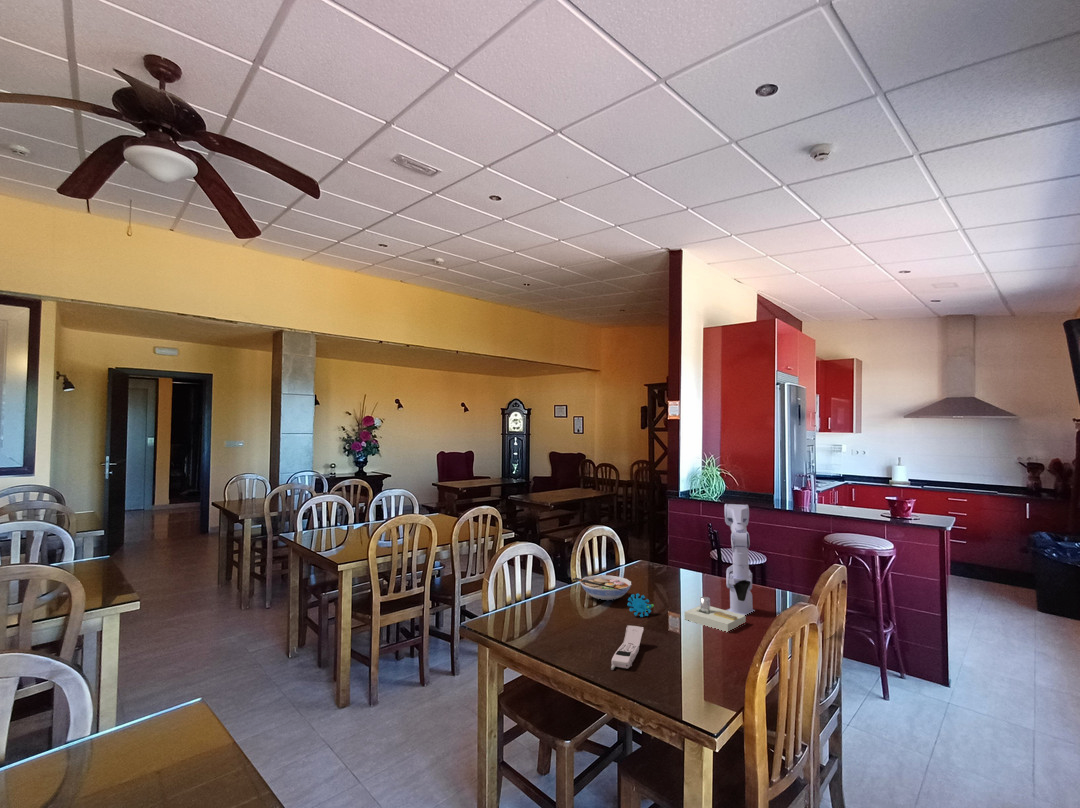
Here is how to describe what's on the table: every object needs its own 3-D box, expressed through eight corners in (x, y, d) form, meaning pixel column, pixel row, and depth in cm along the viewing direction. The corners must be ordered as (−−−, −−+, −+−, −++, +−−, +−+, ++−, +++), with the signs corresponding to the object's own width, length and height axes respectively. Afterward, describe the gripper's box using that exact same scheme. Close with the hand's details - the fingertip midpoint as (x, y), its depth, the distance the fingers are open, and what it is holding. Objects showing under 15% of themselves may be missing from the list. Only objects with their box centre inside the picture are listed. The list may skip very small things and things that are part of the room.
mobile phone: (644, 626, 178) (627, 653, 155) (644, 644, 178) (627, 674, 155) (627, 624, 181) (608, 650, 158) (627, 641, 180) (608, 670, 157)
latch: (713, 614, 199) (713, 613, 199) (717, 613, 201) (717, 611, 201) (733, 620, 193) (733, 618, 193) (737, 618, 195) (737, 616, 195)
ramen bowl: (643, 598, 228) (643, 580, 229) (615, 611, 211) (615, 591, 212) (597, 587, 245) (597, 570, 245) (567, 598, 228) (567, 579, 228)
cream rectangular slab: (703, 611, 211) (703, 604, 211) (745, 623, 198) (745, 615, 198) (684, 619, 202) (684, 611, 202) (727, 632, 188) (727, 624, 189)
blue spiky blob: (630, 614, 202) (626, 591, 210) (625, 621, 206) (622, 598, 214) (656, 617, 204) (652, 594, 211) (651, 624, 208) (647, 601, 215)
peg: (704, 616, 205) (703, 596, 206) (712, 619, 202) (711, 598, 203) (698, 618, 203) (698, 597, 204) (706, 621, 200) (706, 600, 201)
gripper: (739, 559, 205) (740, 594, 204) (721, 565, 195) (722, 601, 194) (757, 562, 200) (757, 598, 199) (739, 568, 190) (740, 606, 189)
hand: (741, 600), depth 196 cm, fingers closed
